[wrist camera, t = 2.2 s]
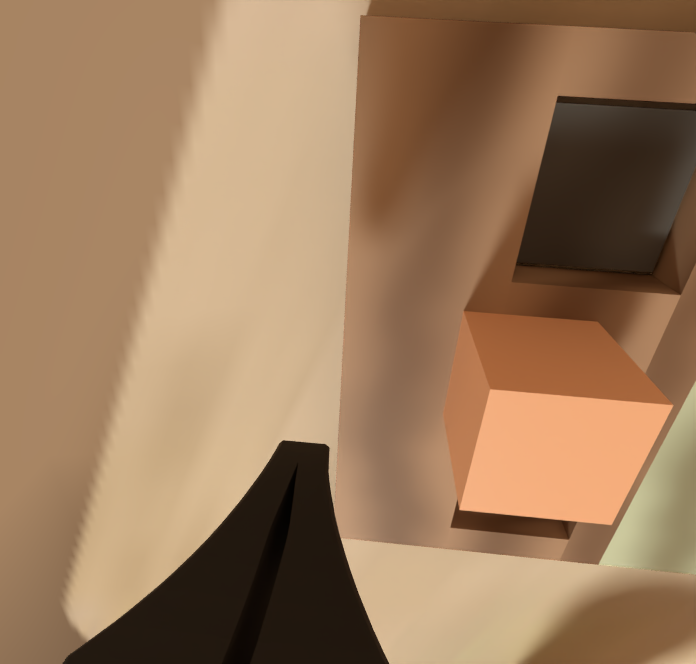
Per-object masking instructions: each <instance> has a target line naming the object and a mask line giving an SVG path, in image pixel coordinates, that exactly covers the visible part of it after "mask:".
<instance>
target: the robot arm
mask: <svg viewBox="0 0 696 664" xmlns="http://www.w3.org/2000/svg"><path fill="white" fill-rule="evenodd" d="M328 470H329V447H328V446H327V445H326V444H317V443H306V442H295V441H284V440H283V441H282V442H281V443H279V445H278V447H277V449H276V451H275V452H274V454H273V455H272V457H271V459H270V460H269V462H268V463H267V465H266V466H265V468H264V469H263V471H262V472H261V474H260V475H259V477H258V478H257V479H256V481H255V482H254V483H253V485H252V486H251V487H250V489H249V490H248V491H247V493H246V494H245V496H244V497H243V498H242V499H241V501H240V502H239V503H238V504H237V506H236V507H235V508H234V509H233V510H232V512H231V513H230V514H229V515H228V516H227V518H226V519H225V520H224V521H223V522H222V524H221V525H220V526H219V527H218V528H217V529H216V530H215V531H214V532H213V534H212V535H211V536H210V537H209V538H208V539H207V540H206V541H205V542H204V543H203V544H202V545H201V546H200V547H199V548H198V549H197V550H196V551H195V552H194V553H193V554H192V555H191V556H190V557H189V558H188V559H187V560H186V561H185V562H184V563H183V564H182V565H181V566H180V567H179V568H178V569H177V570H176V571H175V572H174V573H172V574H171V575H170V576H169V577H168V578H167V579H166V580H165V581H164V582H162V583H161V584H160V585H159V586H158V587H157V588H156V589H154V590H153V591H152V592H151V593H150V594H148V595H147V596H146V597H145V598H143V599H142V600H141V601H140V602H139V603H137V604H136V605H135V606H134V607H133V608H131V609H130V610H129V611H128V612H127V613H125V614H124V615H123V616H122V617H120V618H119V619H118V620H116V621H115V622H114V623H112V624H111V625H110V626H108V627H107V628H106V629H104V630H103V631H101V632H100V633H99V634H97V635H96V636H95V637H93V638H92V639H91V640H89V641H88V642H86V643H85V644H84V645H82V646H81V647H80V648H78V649H77V650H75V651H74V652H73V653H71V654H70V655H69V656H68V657H67V658H66V659H65V661H64V662H63V664H389V662H388V660H387V658H386V656H385V654H384V652H383V650H382V648H381V645H380V643H379V641H378V639H377V637H376V634H375V632H374V630H373V628H372V625H371V623H370V620H369V618H368V615H367V613H366V611H365V608H364V606H363V603H362V601H361V598H360V596H359V593H358V591H357V588H356V585H355V582H354V579H353V576H352V574H351V571H350V568H349V565H348V561H347V558H346V555H345V552H344V548H343V545H342V541H341V538H340V534H339V530H338V526H337V522H336V517H335V513H334V507H333V502H332V496H331V490H330V483H329V473H328Z"/></svg>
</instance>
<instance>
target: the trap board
mask: <svg viewBox="0 0 696 664" xmlns="http://www.w3.org/2000/svg"><path fill="white" fill-rule="evenodd" d="M558 96H568V97H586V98H603V99H620V100H638V101H655V102H672V103H690V104H696V32H678V31H658V30H639V29H619V28H599V27H579V26H560V25H540V24H520V23H501V22H481V21H461V20H441V19H422V18H402V17H382V16H363V15H361V18H360V37H359V56H358V75H357V94H356V113H355V132H354V150H353V169H352V188H351V207H350V226H349V245H348V264H347V283H346V302H345V321H344V340H343V358H342V377H341V396H340V415H339V434H338V453H337V472H336V491H335V510H334V513H335V517H336V522H337V526H338V530H339V534H340V538H346V539H356V540H365V541H375V542H385V543H394V544H404V545H414V546H423V547H433V548H443V549H452V550H462V551H472V552H481V553H491V554H500V555H510V556H520V557H529V558H539V559H549V560H558V561H568V562H578V563H587V564H597V565H607V566H616V567H626V568H635V569H645V570H655V571H664V572H674V573H684V574H693V575H696V111H692V110H675V109H658V108H641V107H623V106H606V105H589V104H572V103H556V101H557V97H558ZM694 170H695V171H694ZM692 175H693V176H692ZM690 180H691V181H690ZM689 182H690V183H689ZM687 187H688V188H687ZM685 192H686V193H685ZM683 197H684V198H683ZM682 199H683V200H682ZM680 204H681V205H680ZM678 209H679V210H678ZM676 214H677V215H676ZM675 216H676V217H675ZM673 221H674V222H673ZM671 226H672V227H671ZM669 231H670V232H669ZM668 233H669V234H668ZM666 238H667V239H666ZM664 243H665V244H664ZM662 248H663V249H662ZM661 250H662V251H661ZM659 255H660V256H659ZM657 260H658V261H657ZM516 262H519V263H533V264H546V265H559V266H573V267H586V268H600V269H613V270H627V271H640V272H653V273H652V275H648V274H634V273H621V272H608V271H594V270H581V269H567V268H554V267H541V266H527V265H516ZM655 265H656V266H655ZM654 267H655V268H654ZM463 311H469V312H482V313H494V314H507V315H519V316H532V317H544V318H557V319H570V320H582V321H595V322H598V323H599V324H600V325H601V326H602V327H603V328H604V329H605V330H606V331H607V332H608V334H609V335H610V336H611V337H612V338H613V339H614V340H615V341H616V342H617V343H618V345H619V346H620V347H621V348H622V349H623V350H624V351H625V352H626V353H627V354H628V356H629V357H630V358H631V359H632V360H633V361H634V362H635V363H636V364H637V366H638V367H639V368H640V369H641V370H642V371H643V372H644V373H645V374H646V375H647V377H648V378H649V379H650V380H651V381H652V382H653V383H654V384H655V385H656V386H657V388H658V389H659V390H660V391H661V392H662V393H663V394H664V395H665V396H666V397H667V399H668V400H669V401H670V402H671V403H672V404H673V405H674V406H673V407H672V409H671V411H670V413H669V415H668V417H667V419H666V421H665V423H664V425H663V427H662V429H661V431H660V433H659V435H658V436H657V438H656V440H655V442H654V444H653V446H652V448H651V450H650V452H649V454H648V456H647V458H646V460H645V462H644V463H643V465H642V467H641V469H640V471H639V473H638V475H637V477H636V479H635V481H634V483H633V485H632V487H631V489H630V491H629V492H628V494H627V496H626V498H625V500H624V502H623V504H622V506H621V508H620V510H619V512H618V514H617V516H616V518H615V520H614V521H613V523H612V525H606V524H596V523H586V522H575V521H565V520H555V519H545V518H535V517H525V516H515V515H505V514H495V513H485V512H475V511H465V510H459V505H458V499H457V493H456V487H455V482H454V476H453V470H452V464H451V458H450V452H449V446H448V441H447V435H446V429H445V423H444V417H443V411H444V406H445V401H446V396H447V391H448V386H449V381H450V376H451V371H452V366H453V361H454V356H455V351H456V346H457V341H458V336H459V331H460V326H461V321H462V316H463Z"/></svg>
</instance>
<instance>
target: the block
mask: <svg viewBox="0 0 696 664" xmlns="http://www.w3.org/2000/svg"><path fill="white" fill-rule="evenodd" d="M673 406H674V405H673V404H672V403H671V402H670V401H669V400H668V399H667V397H666V396H665V395H664V394H663V393H662V392H661V391H660V390H659V389H658V388H657V386H656V385H655V384H654V383H653V382H652V381H651V380H650V379H649V378H648V377H647V375H646V374H645V373H644V372H643V371H642V370H641V369H640V368H639V367H638V366H637V364H636V363H635V362H634V361H633V360H632V359H631V358H630V357H629V356H628V354H627V353H626V352H625V351H624V350H623V349H622V348H621V347H620V346H619V345H618V343H617V342H616V341H615V340H614V339H613V338H612V337H611V336H610V335H609V334H608V332H607V331H606V330H605V329H604V328H603V327H602V326H601V325H600V324H599V323H598V322H595V321H582V320H570V319H557V318H544V317H532V316H519V315H507V314H494V313H482V312H469V311H463V316H462V321H461V326H460V331H459V336H458V341H457V346H456V351H455V356H454V361H453V366H452V371H451V376H450V381H449V386H448V391H447V396H446V401H445V406H444V411H443V417H444V423H445V429H446V435H447V441H448V446H449V452H450V458H451V464H452V470H453V476H454V482H455V487H456V493H457V499H458V505H459V510H465V511H475V512H485V513H495V514H505V515H515V516H525V517H535V518H545V519H555V520H565V521H575V522H586V523H596V524H606V525H612V523H613V521H614V520H615V518H616V516H617V514H618V512H619V510H620V508H621V506H622V504H623V502H624V500H625V498H626V496H627V494H628V492H629V491H630V489H631V487H632V485H633V483H634V481H635V479H636V477H637V475H638V473H639V471H640V469H641V467H642V465H643V463H644V462H645V460H646V458H647V456H648V454H649V452H650V450H651V448H652V446H653V444H654V442H655V440H656V438H657V436H658V435H659V433H660V431H661V429H662V427H663V425H664V423H665V421H666V419H667V417H668V415H669V413H670V411H671V409H672V407H673Z"/></svg>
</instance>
